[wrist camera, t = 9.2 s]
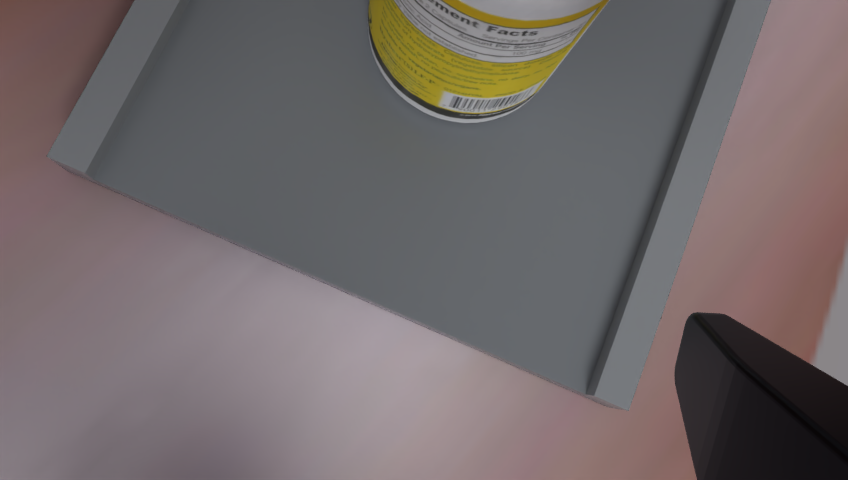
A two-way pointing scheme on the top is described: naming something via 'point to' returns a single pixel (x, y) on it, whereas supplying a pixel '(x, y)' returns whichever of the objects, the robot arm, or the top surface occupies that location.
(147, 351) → the top surface
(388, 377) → the top surface
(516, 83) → the supplement bottle
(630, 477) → the top surface
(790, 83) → the top surface
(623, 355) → the gray tray
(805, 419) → the robot arm
